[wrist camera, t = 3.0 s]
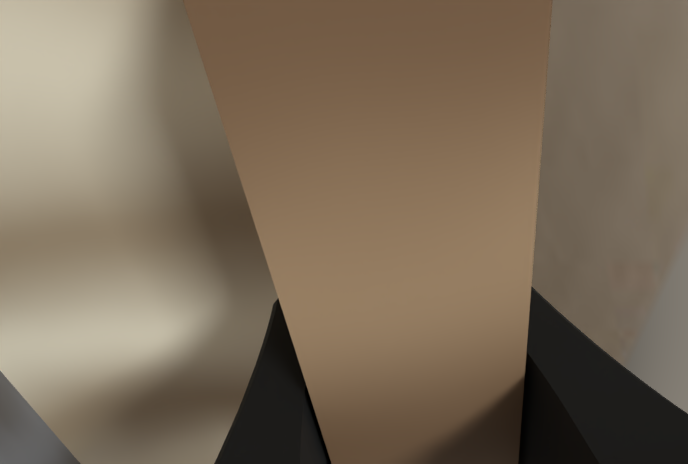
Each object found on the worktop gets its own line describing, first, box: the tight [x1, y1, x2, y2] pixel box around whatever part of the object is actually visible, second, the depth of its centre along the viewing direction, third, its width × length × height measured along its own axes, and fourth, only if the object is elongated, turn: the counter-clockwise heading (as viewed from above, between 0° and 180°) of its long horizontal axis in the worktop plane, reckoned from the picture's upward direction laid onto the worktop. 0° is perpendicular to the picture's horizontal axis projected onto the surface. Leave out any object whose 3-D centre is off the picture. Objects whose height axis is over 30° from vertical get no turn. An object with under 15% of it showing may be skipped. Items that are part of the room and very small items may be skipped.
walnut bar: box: [183, 0, 552, 464], centre depth 9 cm, size 16×3×4 cm, turn 9°
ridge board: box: [0, 0, 278, 464], centre depth 12 cm, size 20×16×6 cm
